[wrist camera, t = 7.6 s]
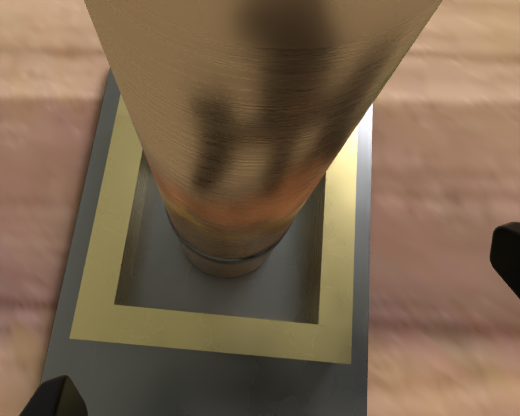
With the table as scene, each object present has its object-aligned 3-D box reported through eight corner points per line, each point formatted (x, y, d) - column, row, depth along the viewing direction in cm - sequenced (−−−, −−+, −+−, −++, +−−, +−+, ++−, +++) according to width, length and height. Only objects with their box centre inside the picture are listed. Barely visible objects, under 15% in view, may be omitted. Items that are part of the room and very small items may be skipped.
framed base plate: (355, 448, 17) (387, 476, 14) (42, 425, 16) (1, 448, 13) (364, 92, 21) (389, 52, 18) (121, 58, 20) (104, 10, 17)
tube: (288, 267, 17) (556, 19, 4) (186, 289, 16) (52, 86, 3) (265, 173, 18) (407, -288, 5) (169, 190, 17) (13, -286, 4)
